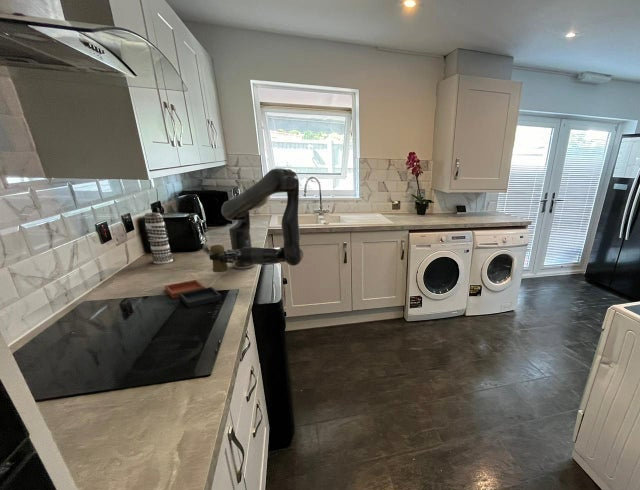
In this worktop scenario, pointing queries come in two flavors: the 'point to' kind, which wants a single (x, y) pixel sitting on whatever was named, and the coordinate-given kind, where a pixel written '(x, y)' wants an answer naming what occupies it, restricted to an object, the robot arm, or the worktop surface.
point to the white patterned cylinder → (158, 238)
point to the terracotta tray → (183, 288)
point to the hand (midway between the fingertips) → (212, 255)
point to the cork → (216, 264)
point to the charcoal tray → (200, 297)
